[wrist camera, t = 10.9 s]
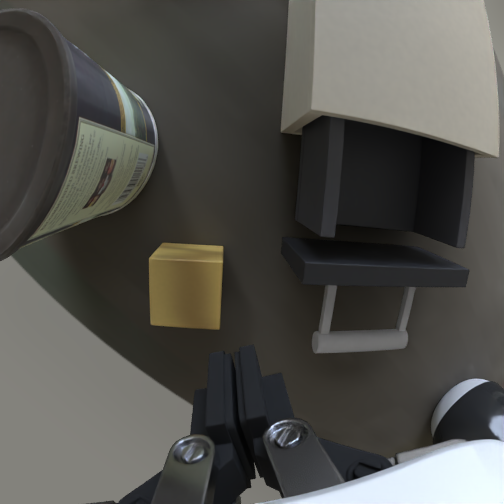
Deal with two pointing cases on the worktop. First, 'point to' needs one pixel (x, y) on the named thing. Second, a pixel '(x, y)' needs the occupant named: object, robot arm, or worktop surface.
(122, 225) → the worktop surface
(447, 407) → the dark grey rounded dome
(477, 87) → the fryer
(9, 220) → the coffee can
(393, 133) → the dark grey storage bin
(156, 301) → the cube
